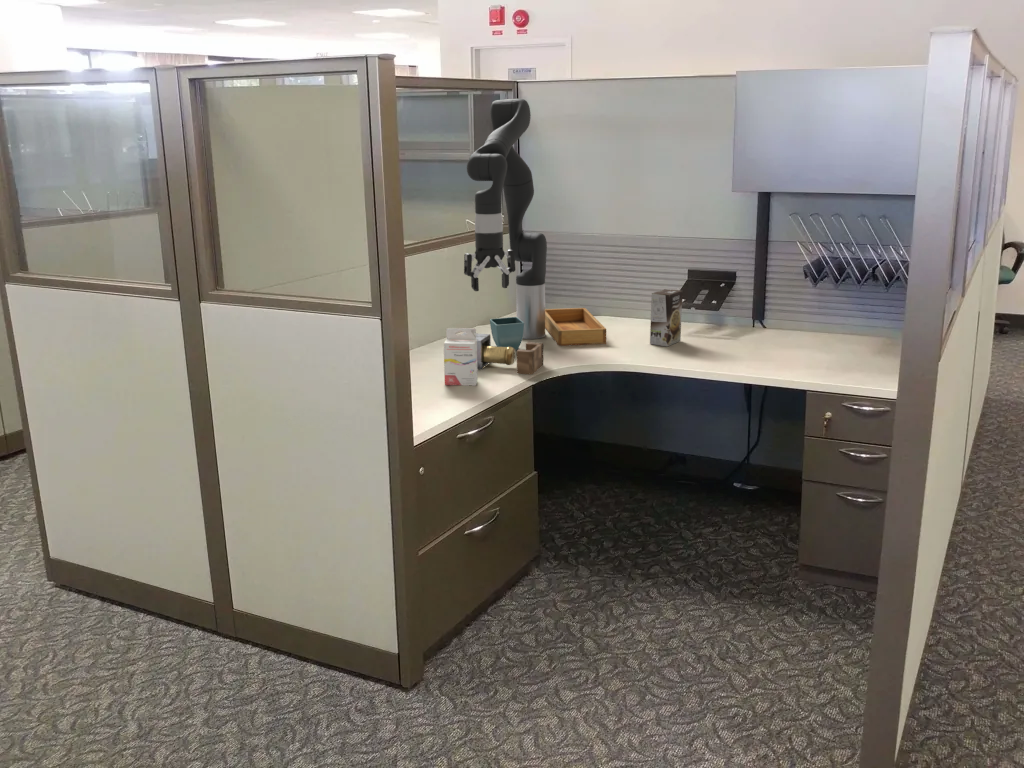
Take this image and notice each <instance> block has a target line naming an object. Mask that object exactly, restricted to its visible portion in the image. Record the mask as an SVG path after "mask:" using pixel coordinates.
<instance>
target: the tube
mask: <svg viewBox="0 0 1024 768" xmlns="http://www.w3.org/2000/svg"><path fill="white" fill-rule="evenodd" d="M515 358H516V350H515V349H514V348H512V347H497V346H495V345H494V346H493V345H491V346H483V345H482V362H485V363H490V364H500V365H501V364H502V365H507V366H511V365H514V364H515Z"/></svg>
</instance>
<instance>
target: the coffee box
mask: <svg viewBox="0 0 1024 768" xmlns="http://www.w3.org/2000/svg"><path fill="white" fill-rule="evenodd" d="M683 292H684V291H683V290H678V289H666V288H665V289H662V290H661V289H660V290H658V291H655V292H651V301H650V302H651V304H650V305H651V306H650V308H651V309H650V329H649V330H650V332H649V344H650V345H655V346H660V347H661V346H662V347H669V346H671V345H675V344H676V343H678V342H681V341H682V340H681V339H682V338H681V336H682V335H681V334H682V333H681V332H682V315H683V314H682V308H683Z"/></svg>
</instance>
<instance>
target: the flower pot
mask: <svg viewBox="0 0 1024 768" xmlns="http://www.w3.org/2000/svg"><path fill="white" fill-rule="evenodd" d="M489 325H490V330H491V337H492V339H493V342H494V344H495V345H496V346H497V347H512V348H514V349H515V351H517V350H519V349H520V348H519V347H520V346H521V344H522V343H523V330H524V322H523V321H521V320H520V319H519V318H517V316H511V317H510V316H509V317H508V316H507V317H499V318H490V319H489Z"/></svg>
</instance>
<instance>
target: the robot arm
mask: <svg viewBox="0 0 1024 768" xmlns="http://www.w3.org/2000/svg"><path fill="white" fill-rule="evenodd" d="M530 109H531V107H530V105H529V102H528V101H527V99H523V98H508V99H505V98H504V99H497V100H494V101H492V103H491V104H490V114H489V115H490V121H491V123H490V124H491V127H492V132H491V133H490V134H489V135H488V136H487V137H486V139H485V142H484V144H483V145H481V146H480V147H479V148H478V149H476V150H475V151H474V152H472V153H471V155H470V157H469V158H468V160H467V164H466V172H467V175H468V177H469V178H470V179H471V180H473V181H475V182H492V184H491V187H489V188H486V189H482V190H481V189H480V190H478V191H477V192H475V194H474V209H475V211H474V212H475V214H474V215H475V216H474V243H475V251H474V253H469V252H464V260H463V263H464V264H463V274H464V275H465V276H468V277H470V280H471V281H470V282H471V283H470V284H471V285H470V286H471V289H472V290H473V291H474V292H479V290H480V289H479V287H480V286H479V285H480V284H479V282H480V281H479V277H478V276H479V275H480V273H481V272H482V271H483V270H484V269H489V268H490V269H491V268H498V269H499V270H500V272H501V273H502V274H501V288H503V289H508V286H509V285H510V274H512V273H514V272H516V262H521V263H523V262H524V263H531V268H530V269H528V270H526V271H522V272H519V273H518V274H516V277H515V284H516V285H515V286H516V287H515V289H516V293H515V294H516V295H515V296H516V297H515V298H516V299H515V300H516V317H517V318H519V319H520V320H521V321H523V322H524V330H523V338H522V340H523V339H525V340H526V339H527V340H537V339H542V338H545V337H546V328H545V309H546V274H547V273H546V272H547V254H548V253H547V252H548V250H547V249H548V244H547V243H548V242H547V238H546V236H545V234H543V232H527V231H526V232H524V229H523V220H524V216H525V214H526V212H527V211H528V208H529V207H530V205H531V203H532V200H533V197H534V195H535V189H534V181H533V180H534V179H533V174H532V170H531V168H530V166H528V164H527V163H526V160H524V159H523V157H521V155H520V154H519V153H518V152H517V150H516V149H515V148H514V146H513V145H515V143H516V142H517V141H518V140H519V139H520V138H521V137H522V135H523V134H524V133H525V132H526V131H527V130H528V128H529V126H530V123H531V110H530ZM503 194H504V195H503ZM502 195H503V196H504V200H505V201H504V202H505V208H506V213H507V214H506V215H507V220H508V236H509V237H508V238H509V248H508V249H507V250H504V224H503V223H504V221H503V216H502V215H503V214H502ZM504 257H505V258H506V259H507V263H506V264H507V266H506V265H505V263H504V262H503V258H504ZM474 259H475V260H476V263H475V264H474V266H473V265H472V264H473V261H474ZM472 266H473V268H472Z"/></svg>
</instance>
